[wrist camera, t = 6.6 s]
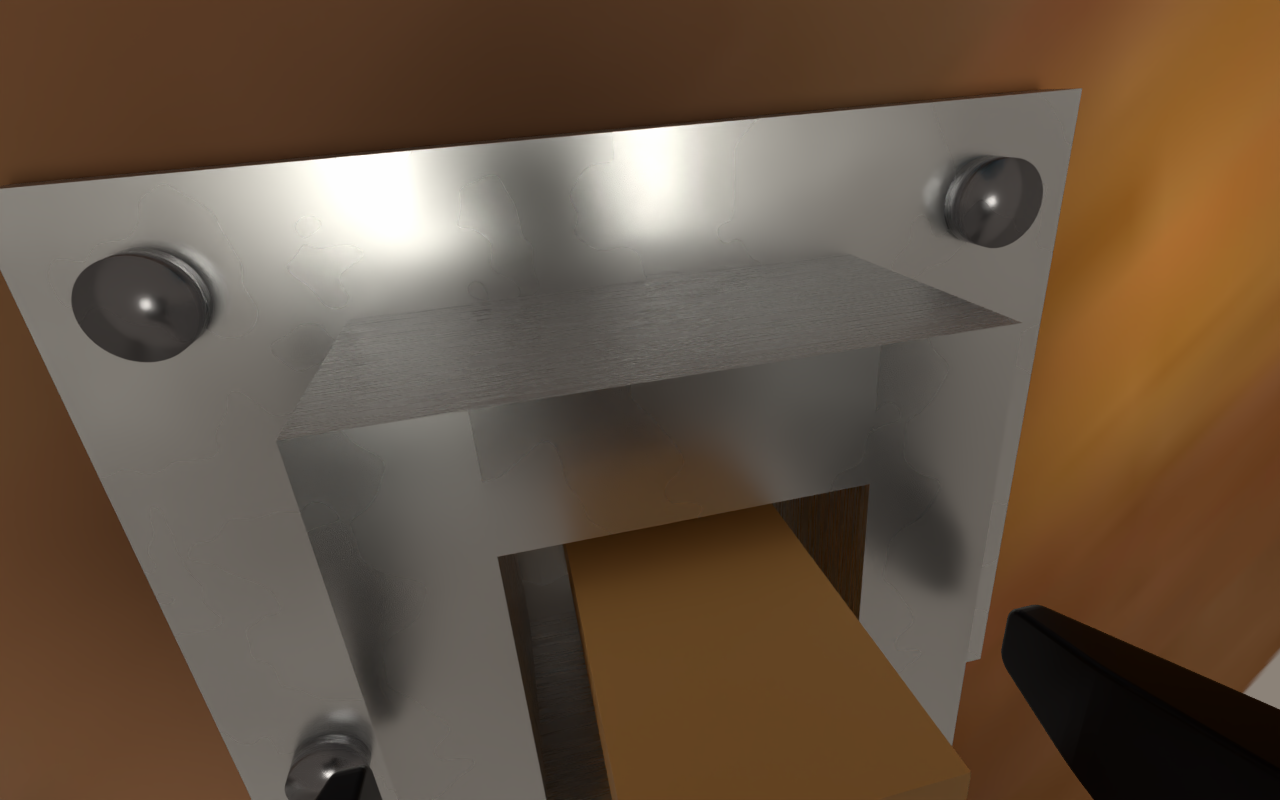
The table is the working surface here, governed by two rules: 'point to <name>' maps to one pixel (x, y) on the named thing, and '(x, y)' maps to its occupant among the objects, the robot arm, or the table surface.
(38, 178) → the table surface
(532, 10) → the table surface
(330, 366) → the bracket collar
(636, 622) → the wedge pin
